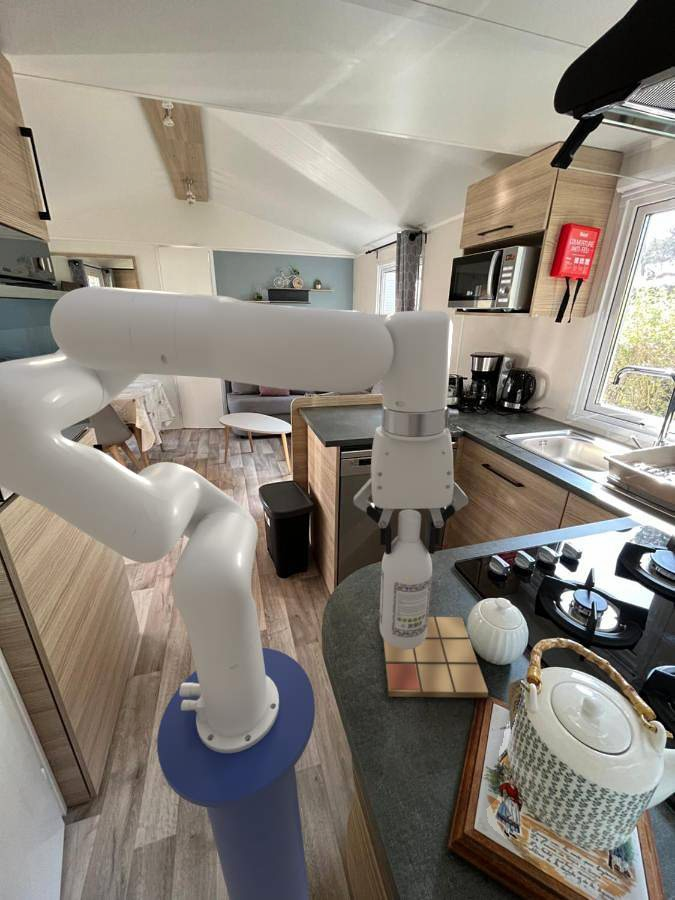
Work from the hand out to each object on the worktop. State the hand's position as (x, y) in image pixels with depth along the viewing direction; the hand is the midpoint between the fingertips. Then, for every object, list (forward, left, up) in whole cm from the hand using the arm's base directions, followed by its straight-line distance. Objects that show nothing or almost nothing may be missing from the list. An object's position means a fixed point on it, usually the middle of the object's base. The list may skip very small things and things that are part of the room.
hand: (408, 546), depth 52 cm
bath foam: (0, 0, -15) cm, 15 cm away
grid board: (+5, +5, -25) cm, 26 cm away
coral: (+16, -10, -26) cm, 32 cm away
